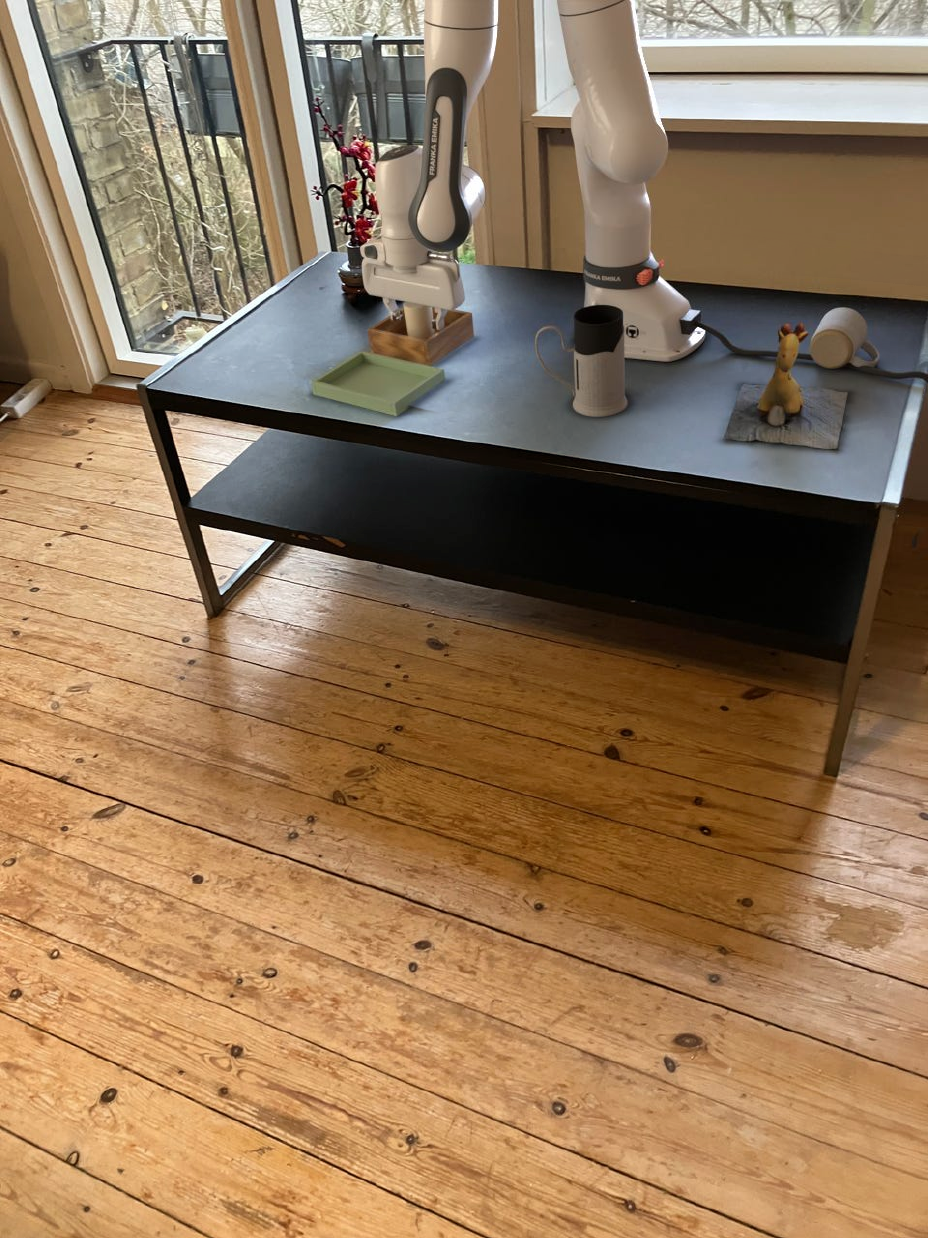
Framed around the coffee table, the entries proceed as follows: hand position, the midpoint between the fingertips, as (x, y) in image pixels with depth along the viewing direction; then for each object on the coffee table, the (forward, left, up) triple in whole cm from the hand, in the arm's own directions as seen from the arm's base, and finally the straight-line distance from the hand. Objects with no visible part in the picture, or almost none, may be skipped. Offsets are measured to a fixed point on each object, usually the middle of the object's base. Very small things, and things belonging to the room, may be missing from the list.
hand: (417, 324), depth 188 cm
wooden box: (0, -1, -5) cm, 5 cm away
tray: (-3, +16, -5) cm, 17 cm away
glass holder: (-38, +6, -5) cm, 39 cm away
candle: (0, -1, -4) cm, 4 cm away
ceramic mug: (-69, -25, -5) cm, 74 cm away
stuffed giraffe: (-68, -4, -5) cm, 68 cm away
